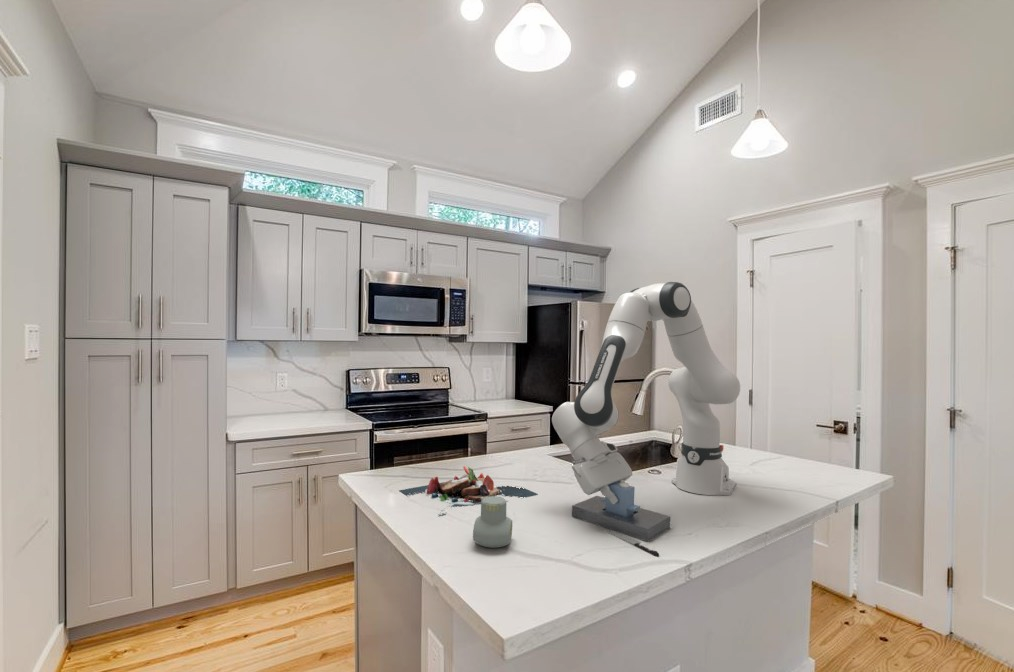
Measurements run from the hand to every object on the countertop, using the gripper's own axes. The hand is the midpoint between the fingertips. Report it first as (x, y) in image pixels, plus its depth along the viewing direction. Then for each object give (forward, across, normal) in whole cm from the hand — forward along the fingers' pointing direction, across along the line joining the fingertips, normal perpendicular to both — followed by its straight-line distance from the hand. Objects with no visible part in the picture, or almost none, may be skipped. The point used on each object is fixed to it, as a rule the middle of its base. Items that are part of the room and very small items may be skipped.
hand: (622, 500), depth 129 cm
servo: (+3, 0, +4) cm, 4 cm away
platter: (-27, -12, +37) cm, 48 cm away
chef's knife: (+10, -8, 0) cm, 13 cm away
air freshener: (-6, -33, +15) cm, 37 cm away
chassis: (+4, 0, +5) cm, 6 cm away
